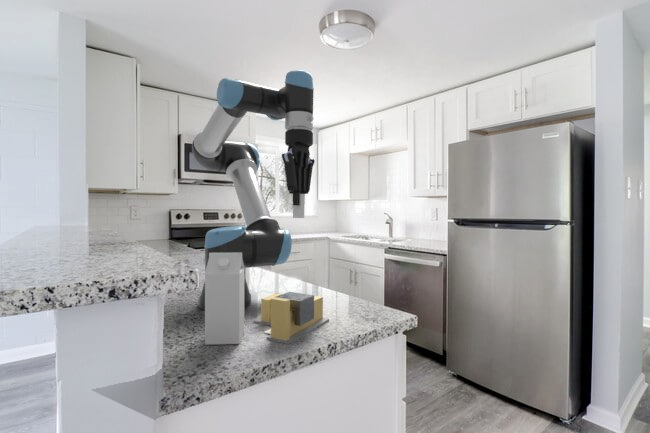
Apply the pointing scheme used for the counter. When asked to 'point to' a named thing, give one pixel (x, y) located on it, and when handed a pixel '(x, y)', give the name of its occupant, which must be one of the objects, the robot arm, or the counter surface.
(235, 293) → the milk carton
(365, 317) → the counter surface
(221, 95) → the robot arm
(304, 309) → the grey block
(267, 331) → the label
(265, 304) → the stub
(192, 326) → the counter surface
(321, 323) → the rail
